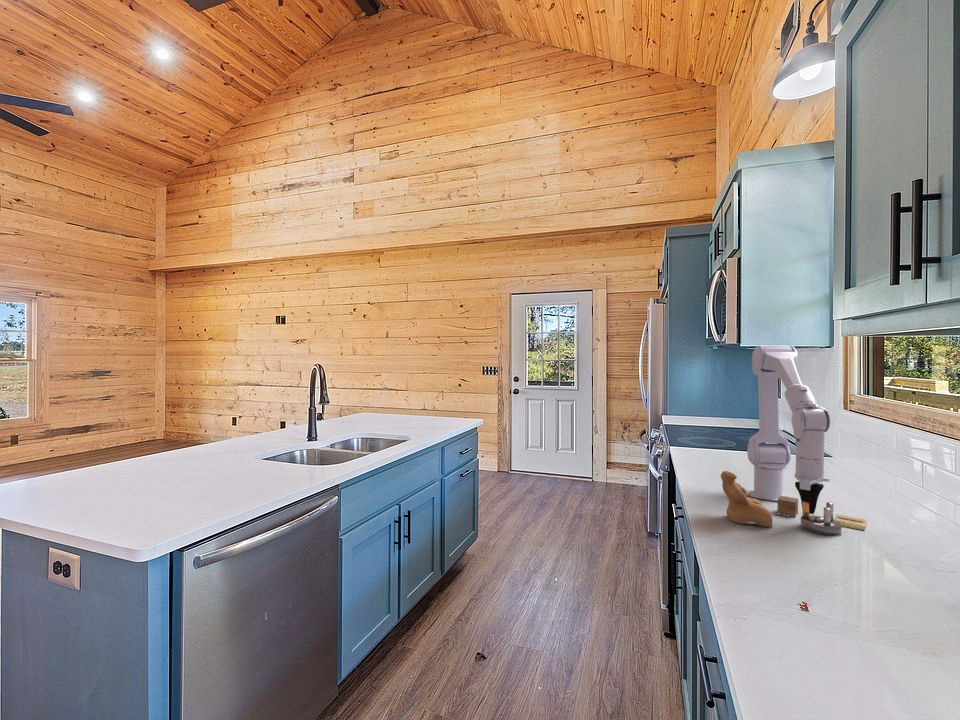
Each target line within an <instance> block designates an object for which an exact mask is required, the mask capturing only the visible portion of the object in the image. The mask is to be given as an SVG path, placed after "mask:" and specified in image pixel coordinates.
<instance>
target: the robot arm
mask: <svg viewBox="0 0 960 720" xmlns="http://www.w3.org/2000/svg"><path fill="white" fill-rule="evenodd" d="M798 355H799V354H798V351H797V349H796V347H795V346H793V345H757V346H755V347H754V349H753V351H752V354H751V362H752V363H751V369H752V374H753V375H756V376H757V381H758V383H757V384H758V421H759V423H758V424H759V426H758V428H759V429H758V431H757V433H755V434H754V435H752V436H750V437H749V439H748V445H747V449H746V450H747V452H746V453H747V458H748V461H749V462H750V464H751V465H753V491H752V492H751V493H750V494H749V498H754V499H762V500H768V501H771V500H772V501H773V502H777V501H778V498H779V497H780V496H786V497H788V493H786V492H784V479H785V478H784V469H786V466H788V465H789V464H790V462H791V458H792V454H791V450H790V446H789V445H790V443H789V440H788V439H787V438H786V437H784V436H783V435H782V434H781V433H780V423H779V422H780V421H779V420H780V418H779V378H780V380H781V382H782V384H783V385H784V387H785V388H786V390H785V391H784V398H785V399H786V402H787V404H788V406H789V408H790V411H791V413H792V415H791V419H790V420H791V425H792V429H793V438H795V473H794V478H795V479H796V480H797V481H795V483H794V487H795V488H796V490H797V492H798V494H799V497H800V502H801V507H803V501H808V502H810V503H809V515H814V514H815V511H816V508H817V504H818V499H819V496H820V494H821V491H822V490H823V488H824V486H825V485H824V484H823V482H830V480H831V479H830V477H828V476H825V475H824V471H825V433H826V432H828V431H829V429H830V427H831V417H830V414H829V411H828V410H827V409H826V408H825V407H823V406H822V405H819V404H818V403H817V401H816V399H815V397H814V395H813V393H812V391H811V389H810V387H809V386H807V385H805V384H803V383H802V381H801V378H800V375H799V372H798V370H797V364H798V360H799V357H798Z"/></svg>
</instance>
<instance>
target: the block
mask: <svg viewBox="0 0 960 720" xmlns="http://www.w3.org/2000/svg"><path fill="white" fill-rule="evenodd" d="M776 510H777V512H776V513H780V514H785V515H784V516H786V515H789V516H788V517H791V516H793V517H792V518H796V517H797V516H798V514H799V498H798V497H791V496H780V497H779V498H778V502H777V509H776ZM780 514H779V515H780ZM796 515H797V516H796Z"/></svg>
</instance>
